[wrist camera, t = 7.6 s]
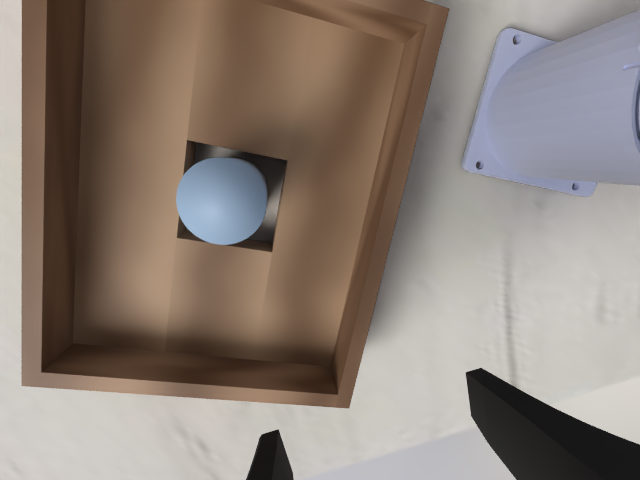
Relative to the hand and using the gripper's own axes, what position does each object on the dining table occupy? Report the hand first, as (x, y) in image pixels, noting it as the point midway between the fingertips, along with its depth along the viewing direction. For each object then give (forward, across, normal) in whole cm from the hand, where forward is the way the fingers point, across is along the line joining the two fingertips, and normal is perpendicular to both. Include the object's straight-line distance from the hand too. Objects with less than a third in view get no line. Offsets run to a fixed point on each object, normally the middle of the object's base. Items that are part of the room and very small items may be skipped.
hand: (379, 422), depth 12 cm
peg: (+10, +4, -9) cm, 14 cm away
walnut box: (+10, +4, -8) cm, 14 cm away
